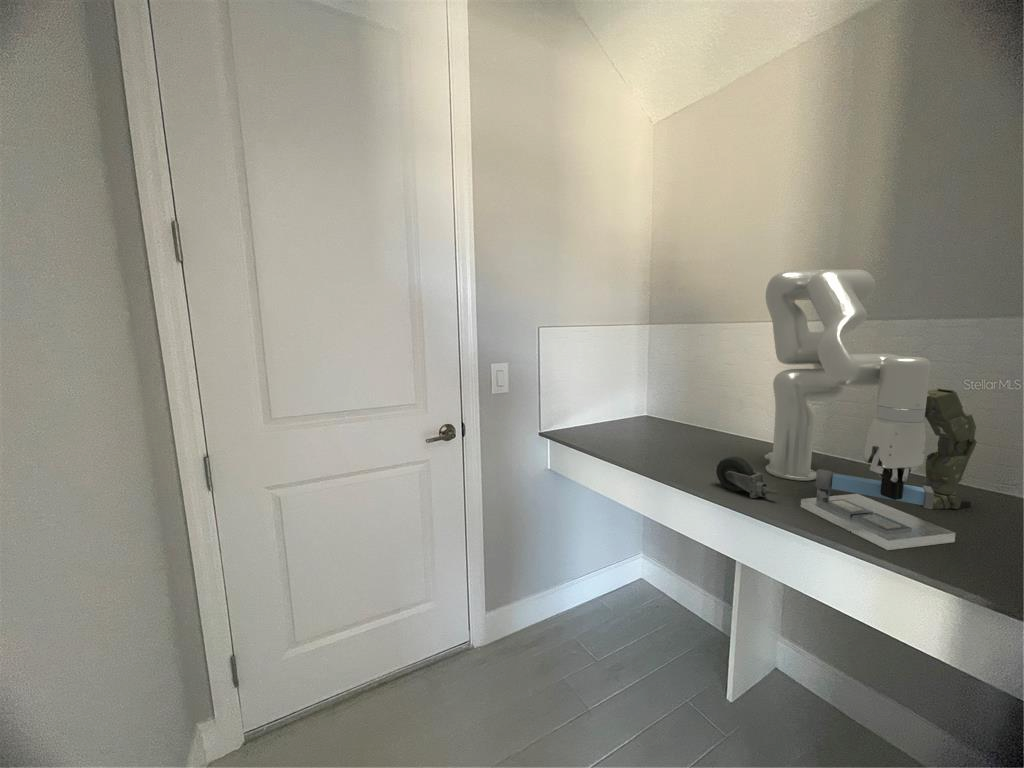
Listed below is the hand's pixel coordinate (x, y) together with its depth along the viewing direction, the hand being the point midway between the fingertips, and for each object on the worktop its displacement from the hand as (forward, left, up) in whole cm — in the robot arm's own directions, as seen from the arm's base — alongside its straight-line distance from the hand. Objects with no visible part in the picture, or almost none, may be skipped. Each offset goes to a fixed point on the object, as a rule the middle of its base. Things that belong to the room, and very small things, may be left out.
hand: (891, 496), depth 87 cm
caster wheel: (-22, -17, -7) cm, 29 cm away
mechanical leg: (-7, +23, -7) cm, 25 cm away
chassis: (-2, -2, -7) cm, 7 cm away
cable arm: (-5, 0, -2) cm, 5 cm away
